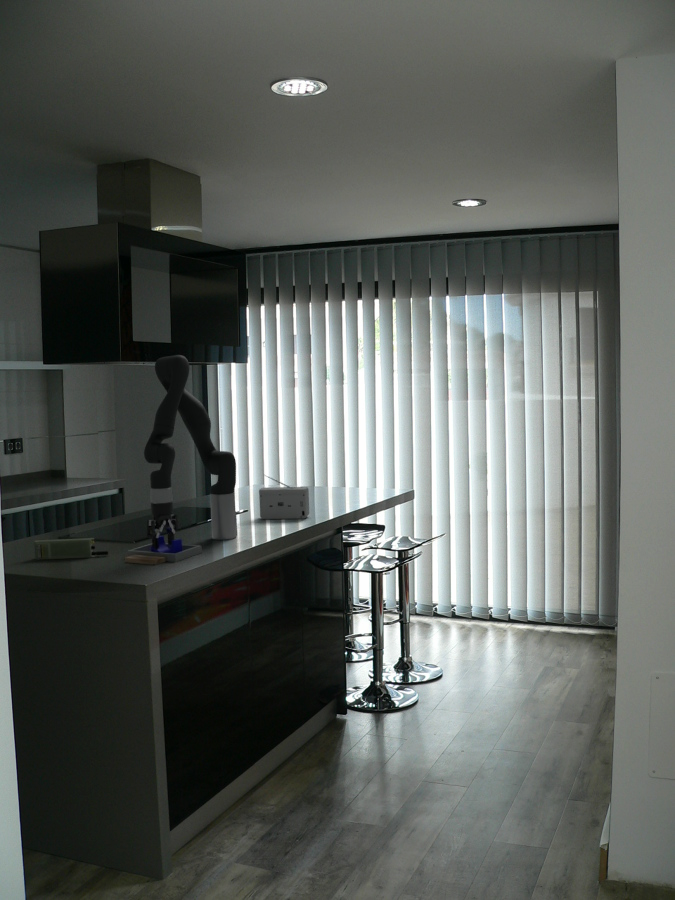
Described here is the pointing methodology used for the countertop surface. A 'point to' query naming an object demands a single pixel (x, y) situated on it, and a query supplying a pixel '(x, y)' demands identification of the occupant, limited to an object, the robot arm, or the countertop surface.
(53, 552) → the handheld radio
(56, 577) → the countertop surface
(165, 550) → the cable clip
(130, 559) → the walnut pad
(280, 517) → the stereo radio cassette player
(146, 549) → the grey shallow tray
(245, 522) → the countertop surface
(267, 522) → the countertop surface
